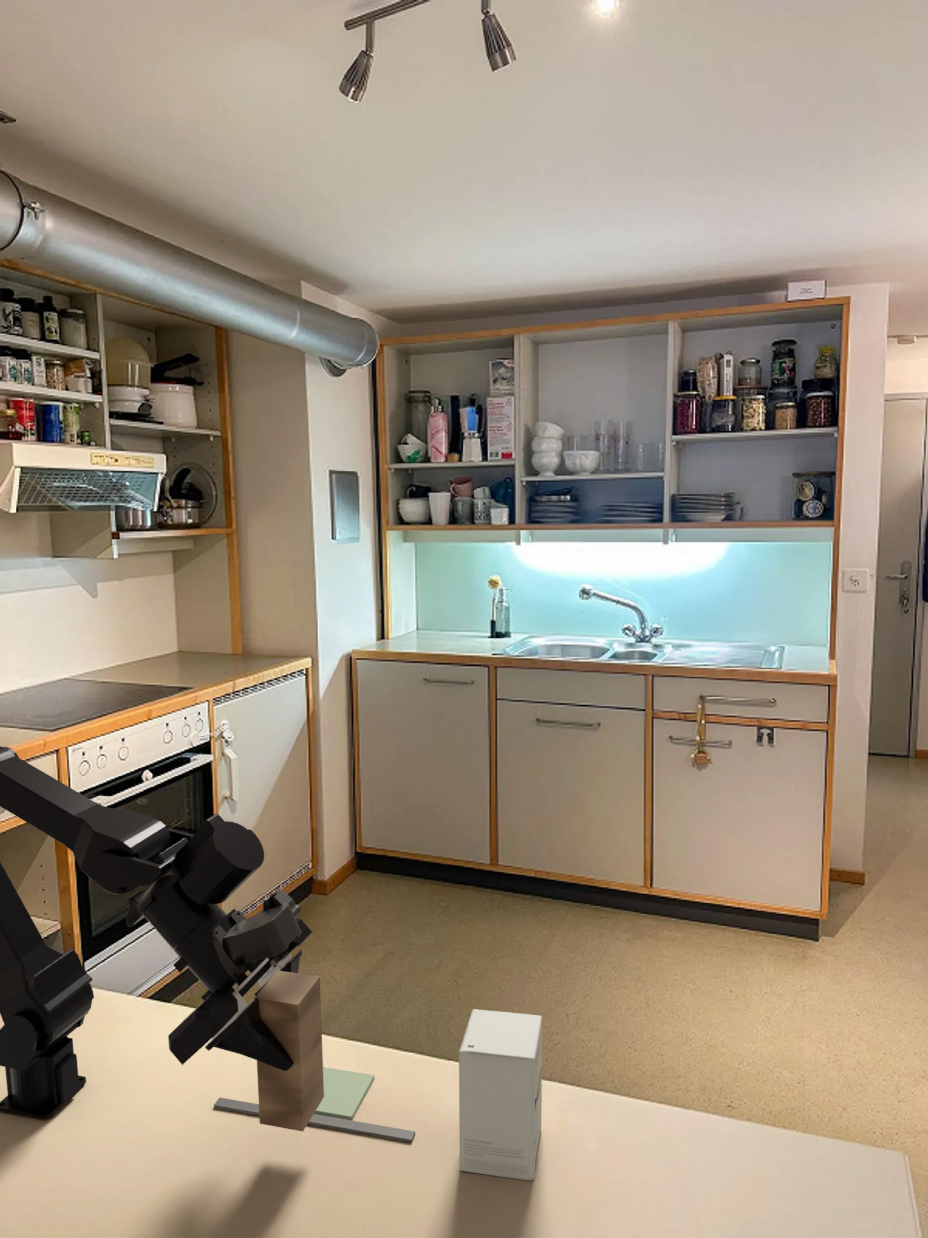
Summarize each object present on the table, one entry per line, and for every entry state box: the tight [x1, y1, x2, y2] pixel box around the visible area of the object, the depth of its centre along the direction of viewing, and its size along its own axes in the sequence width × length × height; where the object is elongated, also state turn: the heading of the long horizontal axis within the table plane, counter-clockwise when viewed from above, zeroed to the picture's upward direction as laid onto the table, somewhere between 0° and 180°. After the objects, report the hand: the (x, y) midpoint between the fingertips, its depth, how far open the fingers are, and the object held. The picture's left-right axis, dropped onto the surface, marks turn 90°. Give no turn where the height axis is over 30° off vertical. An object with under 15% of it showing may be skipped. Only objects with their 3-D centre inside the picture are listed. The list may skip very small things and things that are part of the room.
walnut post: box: [253, 971, 324, 1132], centre depth 86 cm, size 4×5×13 cm
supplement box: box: [458, 1008, 543, 1181], centre depth 87 cm, size 7×7×13 cm
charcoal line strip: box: [213, 1097, 416, 1143], centre depth 92 cm, size 22×1×1 cm, turn 76°
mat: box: [314, 1066, 375, 1121], centre depth 96 cm, size 10×7×1 cm
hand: (303, 1050), depth 86 cm, fingers closed on walnut post, 5 cm apart
